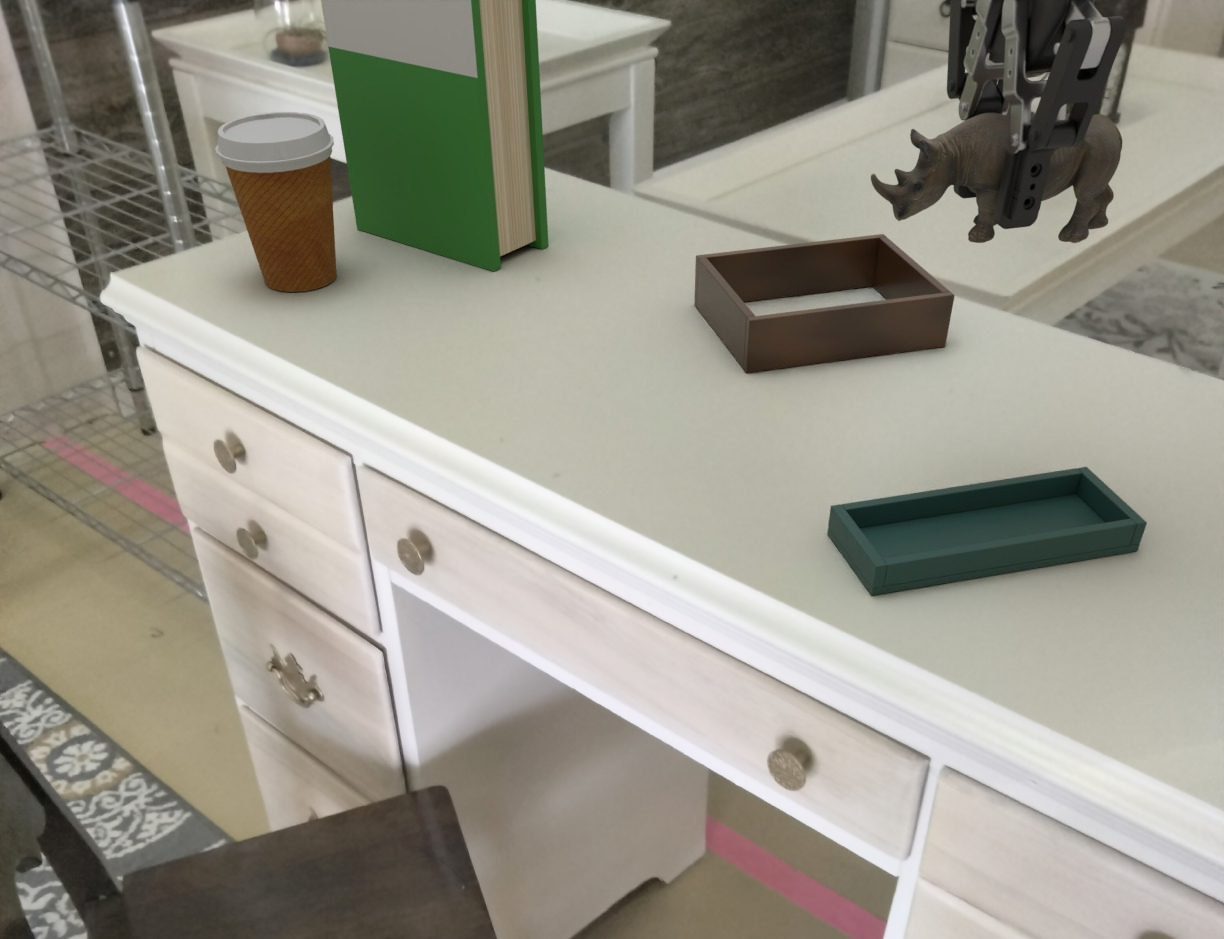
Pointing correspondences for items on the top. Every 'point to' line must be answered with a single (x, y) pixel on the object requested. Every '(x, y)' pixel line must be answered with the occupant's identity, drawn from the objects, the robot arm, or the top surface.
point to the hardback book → (442, 122)
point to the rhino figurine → (979, 163)
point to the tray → (983, 529)
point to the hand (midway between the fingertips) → (992, 208)
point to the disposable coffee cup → (284, 195)
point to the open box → (821, 333)
